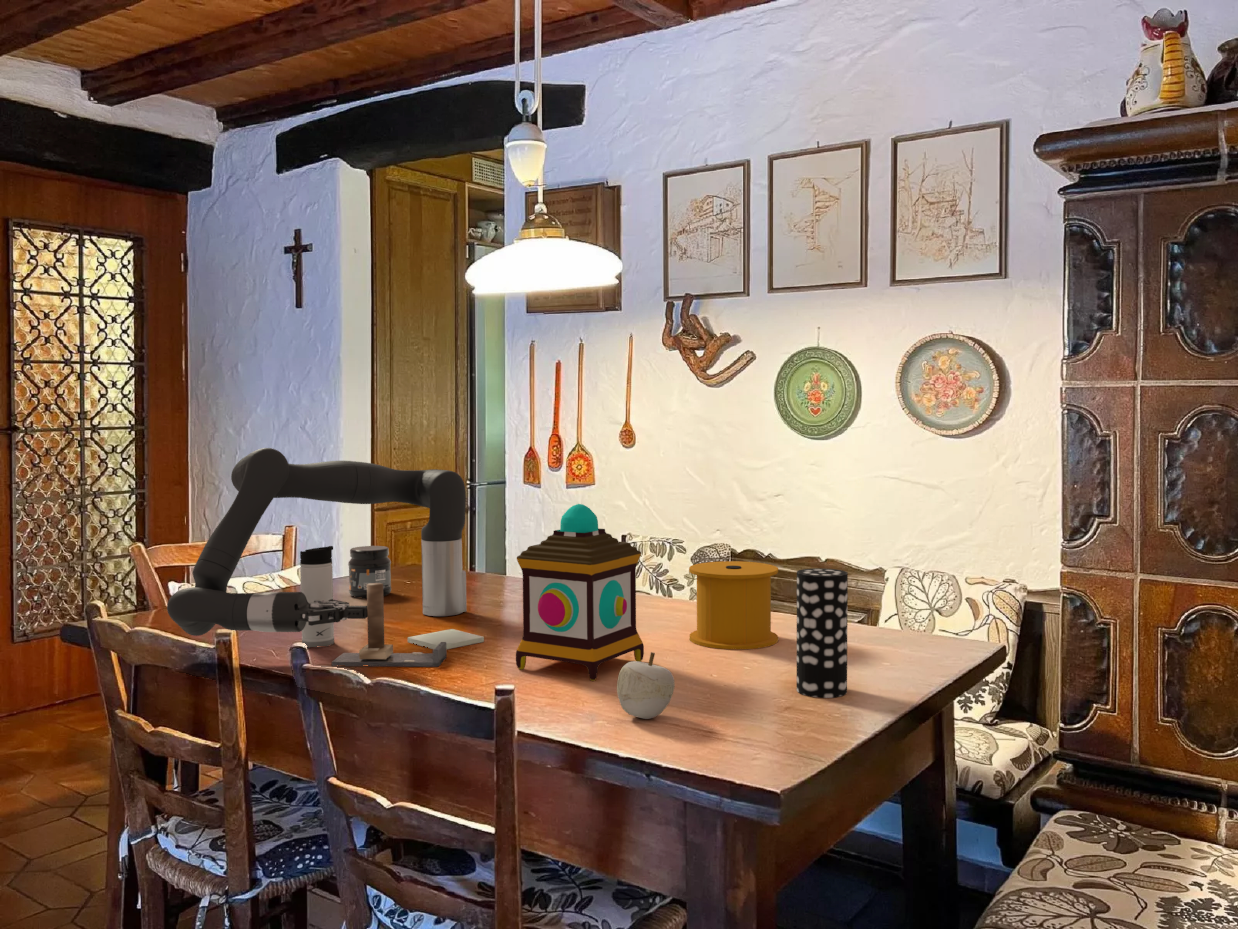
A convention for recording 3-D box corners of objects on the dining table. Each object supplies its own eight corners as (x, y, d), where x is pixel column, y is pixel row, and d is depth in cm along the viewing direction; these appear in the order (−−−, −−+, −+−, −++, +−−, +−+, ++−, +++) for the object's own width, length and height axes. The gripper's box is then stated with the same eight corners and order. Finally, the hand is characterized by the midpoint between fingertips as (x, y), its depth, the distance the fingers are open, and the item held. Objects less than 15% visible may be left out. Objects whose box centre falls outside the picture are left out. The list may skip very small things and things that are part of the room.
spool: (678, 646, 209) (678, 571, 208) (702, 627, 226) (702, 558, 225) (767, 652, 203) (767, 575, 202) (785, 633, 220) (786, 562, 219)
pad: (451, 633, 222) (451, 628, 222) (483, 641, 214) (483, 636, 214) (407, 642, 214) (407, 637, 214) (439, 650, 206) (439, 645, 206)
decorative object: (608, 722, 159) (608, 657, 158) (628, 707, 167) (628, 645, 167) (664, 728, 156) (663, 662, 155) (681, 712, 164) (681, 649, 163)
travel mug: (326, 648, 209) (324, 548, 208) (296, 647, 210) (293, 547, 209) (341, 641, 215) (338, 544, 214) (311, 640, 216) (309, 543, 215)
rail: (331, 666, 195) (331, 650, 195) (343, 656, 202) (343, 641, 202) (438, 666, 194) (438, 650, 193) (446, 657, 201) (446, 642, 200)
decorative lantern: (595, 685, 180) (594, 511, 179) (504, 670, 191) (502, 506, 189) (654, 660, 197) (653, 501, 195) (567, 648, 208) (566, 497, 206)
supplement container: (358, 590, 274) (357, 545, 273) (397, 591, 272) (396, 545, 271) (342, 598, 263) (341, 550, 262) (382, 599, 262) (381, 551, 261)
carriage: (359, 659, 195) (357, 586, 195) (367, 652, 200) (365, 582, 200) (385, 659, 195) (384, 586, 194) (393, 652, 200) (391, 582, 199)
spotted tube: (791, 685, 179) (791, 568, 178) (838, 683, 180) (839, 567, 179) (803, 698, 171) (804, 576, 170) (853, 697, 172) (854, 575, 171)
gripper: (263, 598, 192) (356, 598, 191) (290, 586, 205) (377, 586, 204) (264, 639, 192) (357, 639, 191) (291, 624, 205) (378, 624, 204)
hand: (367, 612), depth 197 cm, fingers closed
